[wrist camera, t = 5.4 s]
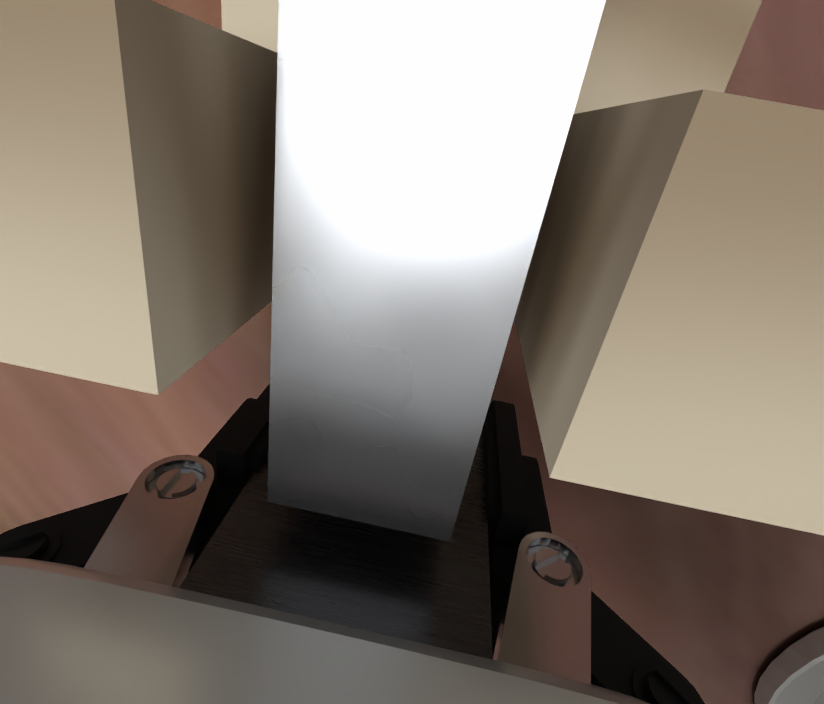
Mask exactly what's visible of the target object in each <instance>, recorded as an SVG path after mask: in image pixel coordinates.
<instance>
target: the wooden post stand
mask: <svg viewBox="0 0 824 704" xmlns="http://www.w3.org/2000/svg"><path fill="white" fill-rule="evenodd" d="M761 2H762V0H606V2H605V6H604V9H603V13H602V16H601V20H600V23H599V26H598V30H597V33H596V37H595V40H594V44H593V47H592V51H591V54H590V58H589V61H588V65H587V68H586V71H585V75H584V78H583V82H582V85H581V89H580V92H579V96H578V99H577V103H576V106H575V110H574V113H573V117H572V120H571V123H570V127H569V130H568V134H567V137H566V141H565V144H564V148H563V151H562V155H561V158H560V162H559V165H558V168H557V172H556V175H555V179H554V182H553V186H552V189H551V193H550V196H549V200H548V203H547V207H546V210H545V213H544V217H543V220H542V224H541V227H540V231H539V234H538V238H537V241H536V245H535V248H534V252H533V255H532V259H531V262H530V265H529V269H528V272H527V276H526V279H525V283H524V286H523V290H522V293H521V297H520V300H519V304H518V307H517V310H516V314H515V317H514V319H515V324H516V328H517V333H518V337H519V342H520V346H521V351H522V355H523V360H524V364H525V369H526V373H527V378H528V382H529V387H530V391H531V396H532V401H533V405H534V410H535V414H536V419H537V423H538V428H539V432H540V437H541V441H542V446H543V450H544V455H545V459H546V464H547V468H548V473H549V477H550V478H554V479H558V480H563V481H568V482H573V483H577V484H582V485H587V486H591V487H596V488H601V489H606V490H610V491H615V492H620V493H625V494H629V495H634V496H639V497H644V498H648V499H653V500H658V501H663V502H667V503H672V504H677V505H682V506H686V507H691V508H696V509H701V510H705V511H710V512H715V513H719V514H724V515H729V516H734V517H738V518H743V519H748V520H753V521H757V522H762V523H767V524H772V525H776V526H781V527H786V528H791V529H795V530H800V531H805V532H810V533H814V534H819V535H824V110H818V109H812V108H807V107H801V106H795V105H790V104H784V103H778V102H773V101H767V100H761V99H756V98H750V97H744V96H739V95H733V94H727V93H724V91H725V88H726V86H727V84H728V81H729V79H730V76H731V74H732V72H733V69H734V67H735V64H736V62H737V60H738V57H739V55H740V52H741V50H742V48H743V45H744V43H745V40H746V38H747V36H748V33H749V31H750V28H751V26H752V24H753V21H754V19H755V16H756V14H757V11H758V9H759V7H760V4H761ZM221 4H222V30H221V29H218V28H216V27H213V26H211V25H209V24H206V23H204V22H201V21H199V20H196V19H194V18H192V17H189V16H187V15H184V14H182V13H179V12H177V11H175V10H172V9H170V8H167V7H165V6H162V5H160V4H158V3H155V2H153V1H150V0H0V362H4V363H8V364H13V365H18V366H22V367H27V368H32V369H37V370H41V371H46V372H51V373H56V374H60V375H65V376H70V377H75V378H79V379H84V380H89V381H94V382H98V383H103V384H108V385H113V386H117V387H122V388H127V389H132V390H136V391H141V392H146V393H151V394H155V395H159V394H160V393H161V392H163V391H164V390H165V389H166V388H167V387H169V386H170V385H171V384H172V383H173V382H175V381H176V380H177V379H178V378H179V377H181V376H182V375H183V374H184V373H185V372H187V371H188V370H189V369H190V368H191V367H193V366H194V365H195V364H196V363H197V362H199V361H200V360H201V359H202V358H204V357H205V356H206V355H207V354H208V353H210V352H211V351H212V350H213V349H214V348H216V347H217V346H218V345H219V344H220V343H222V342H223V341H224V340H225V339H226V338H228V337H229V336H230V335H231V334H232V333H234V332H235V331H236V330H237V329H238V328H240V327H241V326H242V325H243V324H244V323H246V322H247V321H248V320H249V319H250V318H252V317H253V316H254V315H255V314H256V313H258V312H259V311H260V310H261V309H262V308H264V307H265V306H266V305H267V304H269V303H270V302H271V301H272V276H273V232H274V188H275V144H276V100H277V56H278V12H279V0H221Z"/></svg>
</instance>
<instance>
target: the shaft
mask: <svg viewBox="0 0 824 704" xmlns="http://www.w3.org/2000/svg"><path fill="white" fill-rule="evenodd" d="M605 2H606V0H279V12H278V56H277V100H276V144H275V188H274V232H273V276H272V320H271V364H270V408H269V451H268V453H267V454H266V456H265V457H264V459H263V461H262V462H261V464H260V465H259V467H258V468H257V470H255V471H254V473H253V474H252V476H251V477H250V479H249V480H248V482H247V484H246V485H245V487H244V488H243V490H242V491H241V493H240V494H239V496H238V497H237V499H236V501H235V502H234V504H233V505H232V507H231V508H230V510H229V511H228V513H227V514H226V516H225V517H224V519H223V521H222V522H221V524H220V525H219V527H218V528H217V530H216V531H215V533H214V534H213V536H212V538H211V539H210V541H209V542H208V544H207V545H206V547H205V548H204V550H203V551H202V553H201V555H200V556H199V558H198V559H197V561H196V562H195V564H194V565H193V567H192V568H191V570H190V572H189V573H188V575H187V576H186V578H185V579H184V581H183V582H182V584H181V585H180V587H179V588H181V589H186V590H190V591H195V592H199V593H204V594H208V595H213V596H217V597H222V598H226V599H231V600H235V601H240V602H244V603H249V604H253V605H258V606H262V607H266V608H271V609H275V610H280V611H284V612H288V613H293V614H297V615H302V616H306V617H310V618H315V619H319V620H324V621H328V622H332V623H337V624H341V625H345V626H350V627H354V628H359V629H363V630H367V631H372V632H376V633H380V634H385V635H389V636H393V637H398V638H402V639H406V640H411V641H415V642H419V643H423V644H428V645H432V646H436V647H440V648H445V649H449V650H453V651H458V652H462V653H466V654H470V655H475V656H479V657H483V658H487V659H492V660H493V654H492V627H491V599H490V572H489V545H488V520H486V496H485V465H484V434H483V425H484V421H485V418H486V414H487V411H488V407H489V404H490V400H491V397H492V394H493V390H494V387H495V383H496V380H497V376H498V373H499V369H500V366H501V362H502V359H503V355H504V352H505V349H506V345H507V342H508V338H509V335H510V331H511V328H512V324H513V321H514V317H515V314H516V310H517V307H518V304H519V300H520V297H521V293H522V290H523V286H524V283H525V279H526V276H527V272H528V269H529V265H530V262H531V259H532V255H533V252H534V248H535V245H536V241H537V238H538V234H539V231H540V227H541V224H542V220H543V217H544V213H545V210H546V207H547V203H548V200H549V196H550V193H551V189H552V186H553V182H554V179H555V175H556V172H557V168H558V165H559V162H560V158H561V155H562V151H563V148H564V144H565V141H566V137H567V134H568V130H569V127H570V123H571V120H572V117H573V113H574V110H575V106H576V103H577V99H578V96H579V92H580V89H581V85H582V82H583V78H584V75H585V71H586V68H587V65H588V61H589V58H590V54H591V51H592V47H593V44H594V40H595V37H596V33H597V30H598V26H599V23H600V20H601V16H602V13H603V9H604V6H605Z"/></svg>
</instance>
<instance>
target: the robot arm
mask: <svg viewBox="0 0 824 704" xmlns="http://www.w3.org/2000/svg"><path fill="white" fill-rule="evenodd" d="M269 408H270V384H269V385H268V386H267V388H266V389H265V390H264V391H263V393H262V394H261V395H260V396H259V397H258V399H253V398H249V399H247V400H246V401H245V402H244V403H243V404H242V405H241V406H240V407H239V409H238V410H237V411H236V412H235V413H234V414H233V416H232V417H231V418H230V419H229V420H228V421H227V423H226V424H225V425H224V426H223V427H222V428H221V430H220V431H219V432H218V433H217V434H216V435H215V437H214V438H213V439H212V440H211V441H210V443H209V444H208V445H207V446H206V447H205V448H204V450H203V451H202V452H201V453H200V454H199V455H198V456H192V455H176V456H171V457H167V458H164V459H161V460H159V461H157V462H154V463H153V464H151V465H150V466H148V467H147V468H145V469H144V470H143V472H142V473H141V474H140V475H139V476H138V478H137V479H136V481H135V483H134V485H133V486H132V488H131V490H130V491H129V493H126V494H123V495H119V496H116V497H113V498H110V499H106V500H103V501H100V502H97V503H93V504H90V505H87V506H84V507H80V508H77V509H74V510H70V511H67V512H64V513H61V514H57V515H54V516H51V517H48V518H44V519H41V520H38V521H35V522H31V523H28V524H25V525H21V526H19V527H16V528H14V529H11V530H9V531H6V532H4V533H2V534H1V535H0V704H705V703H704V702H703V700H702V699H701V697H700V695H699V694H698V692H697V691H696V689H695V688H694V687H693V686H692V685H691V684H690V682H689V681H688V680H687V679H686V678H685V677H684V676H683V675H682V674H681V673H680V672H679V671H678V670H677V669H675V668H674V667H673V666H672V665H671V664H670V663H669V662H668V661H667V660H666V659H665V658H664V657H662V656H661V655H660V654H659V653H658V652H657V651H656V650H655V649H654V648H653V647H652V646H650V645H649V644H648V643H647V642H646V641H645V640H644V639H643V638H642V637H641V636H640V635H639V634H637V633H636V632H635V631H634V630H633V629H632V628H631V627H630V626H629V625H628V624H627V623H625V622H624V621H623V620H622V619H621V618H620V617H619V616H618V615H617V614H616V613H615V612H614V611H612V610H611V609H610V608H609V607H608V606H607V605H606V604H605V603H604V602H603V601H602V600H600V599H599V598H598V597H597V596H596V595H595V594H594V593H593V592H592V591H591V573H590V567H589V565H588V563H587V561H586V559H585V557H584V556H583V555H582V553H581V552H580V551H579V550H578V549H577V548H576V547H575V546H574V545H573V544H571V543H570V542H569V541H568V540H566V539H564V538H562V537H560V536H558V535H555V534H552V532H551V527H550V522H549V517H548V512H547V506H546V501H545V496H544V491H543V486H542V481H541V476H540V471H539V465H538V462H537V459H535V458H532V457H528V456H523V455H522V454H521V448H520V441H519V434H518V427H517V421H516V414H515V407H514V405H513V404H510V403H505V402H500V401H495V400H493V401H492V403H491V405H489V407H488V411H487V414H486V418H485V421H484V425H483V434H484V465H485V496H486V520H488V545H489V572H490V599H491V627H492V654H493V660H492V659H487V658H483V657H479V656H475V655H470V654H466V653H462V652H458V651H453V650H449V649H445V648H440V647H436V646H432V645H428V644H423V643H419V642H415V641H411V640H406V639H402V638H398V637H393V636H389V635H385V634H380V633H376V632H372V631H367V630H363V629H359V628H354V627H350V626H345V625H341V624H337V623H332V622H328V621H324V620H319V619H315V618H310V617H306V616H302V615H297V614H293V613H288V612H284V611H280V610H275V609H271V608H266V607H262V606H258V605H253V604H249V603H244V602H240V601H235V600H231V599H226V598H222V597H217V596H213V595H208V594H204V593H199V592H195V591H190V590H186V589H181V588H179V587H180V585H181V584H182V582H183V581H184V579H185V578H186V576H187V575H188V573H189V572H190V570H191V568H192V567H193V565H194V564H195V562H196V561H197V559H198V558H199V556H200V555H201V553H202V551H203V550H204V548H205V547H206V545H207V544H208V542H209V541H210V539H211V538H212V536H213V534H214V533H215V531H216V530H217V528H218V527H219V525H220V524H221V522H222V521H223V519H224V517H225V516H226V514H227V513H228V511H229V510H230V508H231V507H232V505H233V504H234V502H235V501H236V499H237V497H238V496H239V494H240V493H241V491H242V490H243V488H244V487H245V485H246V484H247V482H248V480H249V479H250V477H251V476H252V474H253V473H254V471H255V470H257V468H258V467H259V465H260V464H261V462H262V461H263V459H264V457H265V456H266V454H267V453H268V451H269ZM754 704H824V626H823V627H821V628H819V629H817V630H814V631H812V632H811V633H809V634H807V635H806V636H804V637H803V638H801V639H799V640H798V641H796V642H795V643H793V644H791V645H790V646H788V647H787V648H786V649H785V650H784V651H783V652H782V653H780V654H779V655H778V656H777V657H776V658H775V659H774V660H773V661H772V662H771V663H770V664H769V666H768V667H767V669H766V670H765V671H764V673H763V674H762V676H761V677H760V679H759V682H758V685H757V688H756V691H755V694H754Z"/></svg>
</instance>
